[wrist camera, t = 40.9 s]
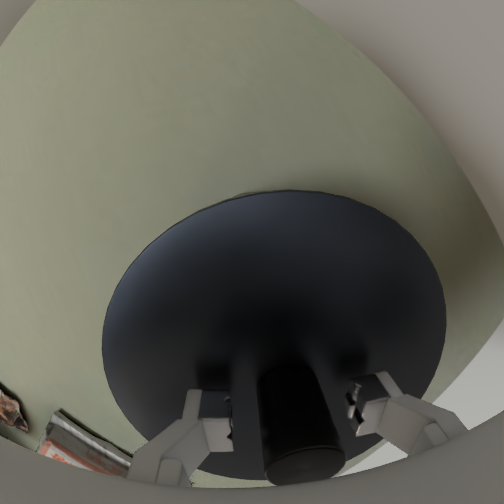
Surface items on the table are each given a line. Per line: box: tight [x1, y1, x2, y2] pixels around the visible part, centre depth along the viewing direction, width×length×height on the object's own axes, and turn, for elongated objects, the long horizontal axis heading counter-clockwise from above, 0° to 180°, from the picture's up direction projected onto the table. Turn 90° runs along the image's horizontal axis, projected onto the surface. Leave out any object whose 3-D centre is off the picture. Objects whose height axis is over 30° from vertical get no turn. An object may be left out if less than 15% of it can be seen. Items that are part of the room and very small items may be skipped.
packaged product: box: [36, 410, 132, 479], centre depth 22 cm, size 18×5×10 cm
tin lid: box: [102, 189, 447, 486], centre depth 9 cm, size 15×15×5 cm
